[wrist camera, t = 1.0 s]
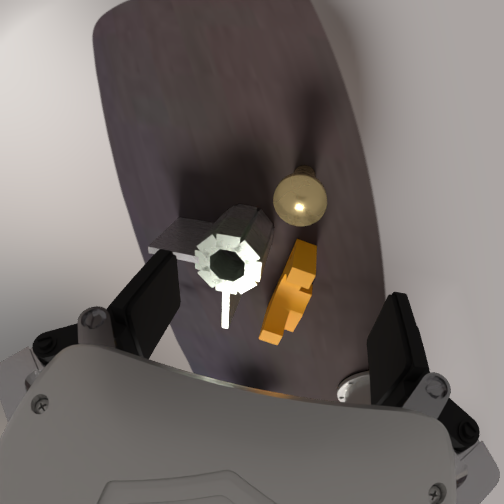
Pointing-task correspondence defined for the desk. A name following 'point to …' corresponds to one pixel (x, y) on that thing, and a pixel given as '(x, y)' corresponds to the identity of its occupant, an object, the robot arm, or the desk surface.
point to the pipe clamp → (290, 293)
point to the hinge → (223, 251)
